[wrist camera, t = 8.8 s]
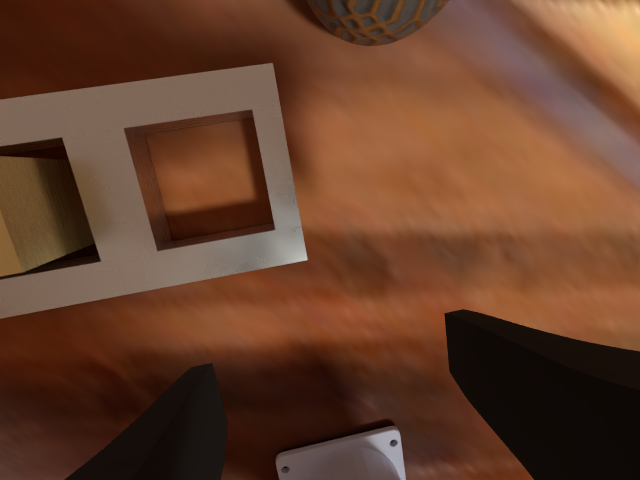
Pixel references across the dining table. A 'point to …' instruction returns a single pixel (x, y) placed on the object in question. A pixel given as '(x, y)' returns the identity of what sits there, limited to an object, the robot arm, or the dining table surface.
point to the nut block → (39, 213)
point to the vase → (374, 18)
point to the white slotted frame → (148, 184)
